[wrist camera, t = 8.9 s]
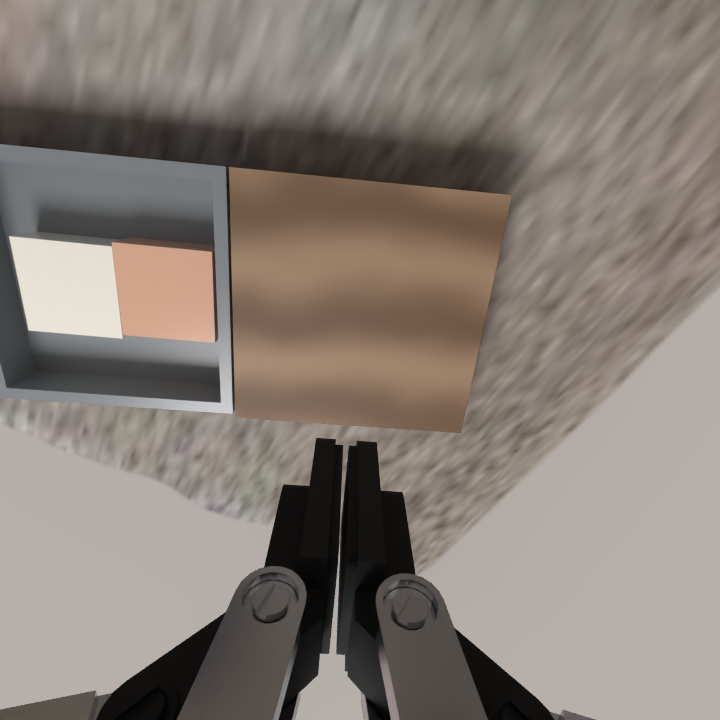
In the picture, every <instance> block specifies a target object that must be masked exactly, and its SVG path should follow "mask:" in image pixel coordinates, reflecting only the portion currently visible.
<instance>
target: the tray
mask: <svg viewBox="0 0 720 720" xmlns="http://www.w3.org/2000/svg"><path fill="white" fill-rule="evenodd" d="M236 168H237V167H236ZM36 231H38V232H48V233H58V234H68V235H78V236H88V237H98V238H108V239H118V240H121V239H125V238H128V237H138V238H148V239H158V240H168V241H179V242H189V243H199V244H209V245H215V267H216V292H217V317H218V340H217V341H216V342H215V343H210V342H199V341H187V340H175V339H163V338H151V337H139V336H128V335H127V336H126V337H125V338H123V339H120V338H109V337H97V336H86V335H74V334H63V333H52V332H40V331H29V330H28V325H27V321H26V316H25V311H24V306H23V301H22V297H21V292H20V287H19V282H18V277H17V273H16V268H15V263H14V258H13V254H12V249H11V244H10V239H9V236H13V235H19V234H25V233H30V232H36ZM0 398H12V399H27V400H41V401H56V402H71V403H85V404H100V405H114V406H129V407H143V408H158V409H172V410H187V411H202V412H216V413H231V414H233V412H234V410H235V387H234V347H233V307H232V267H231V227H230V187H229V167H227V166H217V165H207V164H197V163H187V162H177V161H167V160H157V159H147V158H137V157H127V156H116V155H106V154H96V153H86V152H76V151H66V150H56V149H46V148H36V147H26V146H16V145H6V144H0Z"/></svg>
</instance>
